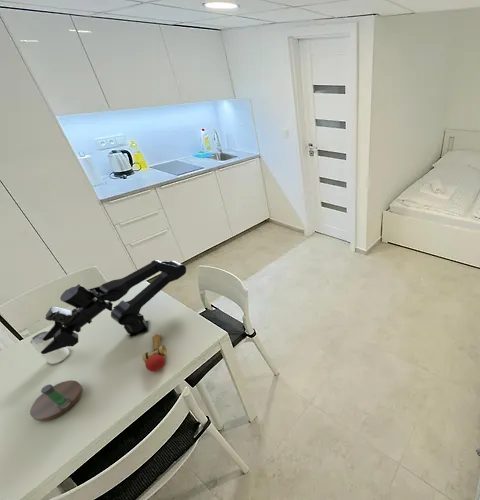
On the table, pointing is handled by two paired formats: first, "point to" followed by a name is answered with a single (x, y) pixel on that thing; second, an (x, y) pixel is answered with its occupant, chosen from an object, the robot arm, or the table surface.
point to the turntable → (55, 400)
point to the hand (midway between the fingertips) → (42, 346)
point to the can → (51, 356)
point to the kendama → (155, 355)
